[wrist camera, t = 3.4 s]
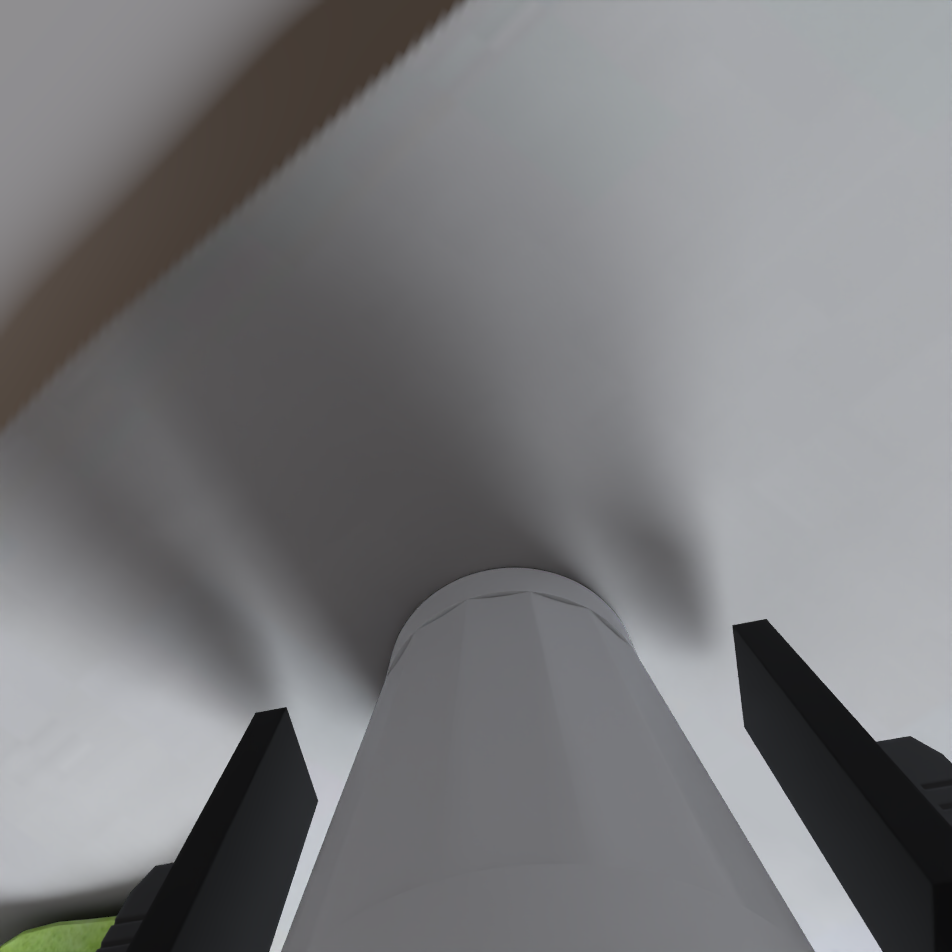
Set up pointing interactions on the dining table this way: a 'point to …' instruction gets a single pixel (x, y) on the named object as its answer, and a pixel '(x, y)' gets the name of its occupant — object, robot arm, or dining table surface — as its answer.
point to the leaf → (62, 937)
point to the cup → (531, 797)
